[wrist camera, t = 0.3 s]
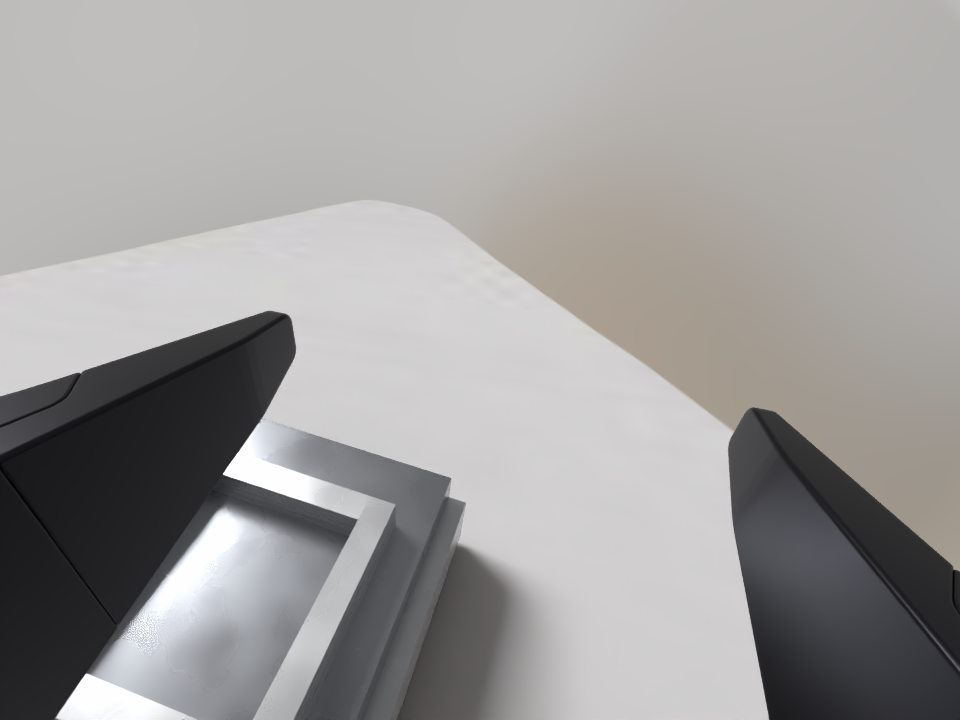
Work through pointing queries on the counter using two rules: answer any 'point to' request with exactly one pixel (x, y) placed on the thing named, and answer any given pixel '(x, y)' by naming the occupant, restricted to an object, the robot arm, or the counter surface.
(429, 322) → the counter surface
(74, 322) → the counter surface
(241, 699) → the square aluminium tube flange
